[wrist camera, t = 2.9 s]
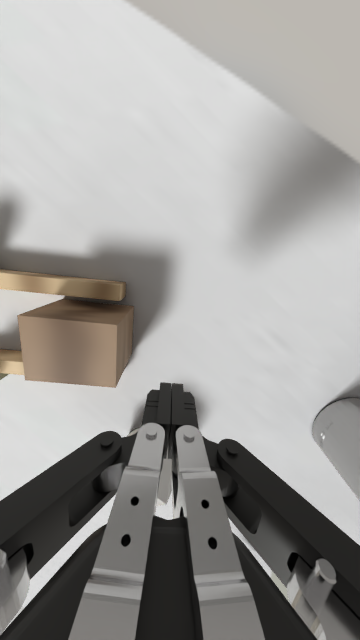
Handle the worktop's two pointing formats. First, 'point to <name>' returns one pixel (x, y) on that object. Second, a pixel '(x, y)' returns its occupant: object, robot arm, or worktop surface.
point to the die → (162, 479)
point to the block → (76, 342)
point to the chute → (11, 360)
